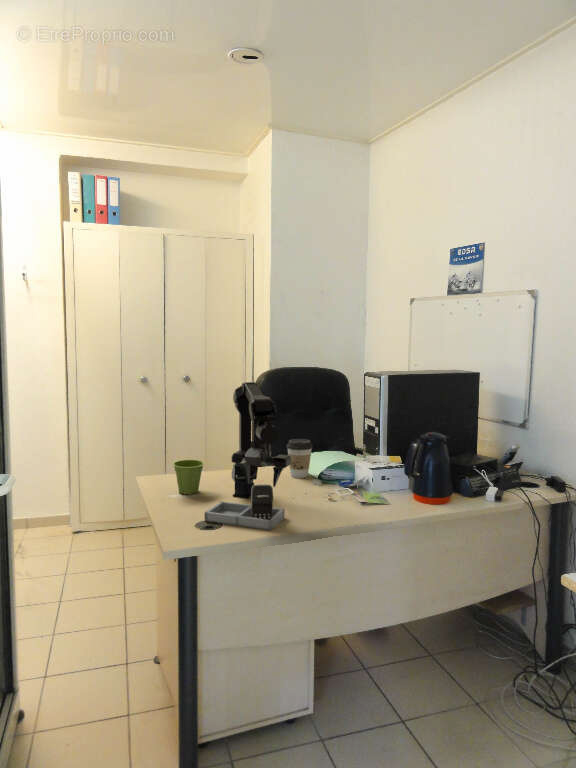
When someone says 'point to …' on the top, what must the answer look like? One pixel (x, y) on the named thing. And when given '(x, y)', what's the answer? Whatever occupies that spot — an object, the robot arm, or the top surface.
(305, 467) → the coffee cup
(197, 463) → the plant pot
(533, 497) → the top surface
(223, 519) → the divided tray
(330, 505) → the top surface
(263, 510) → the battery charger
